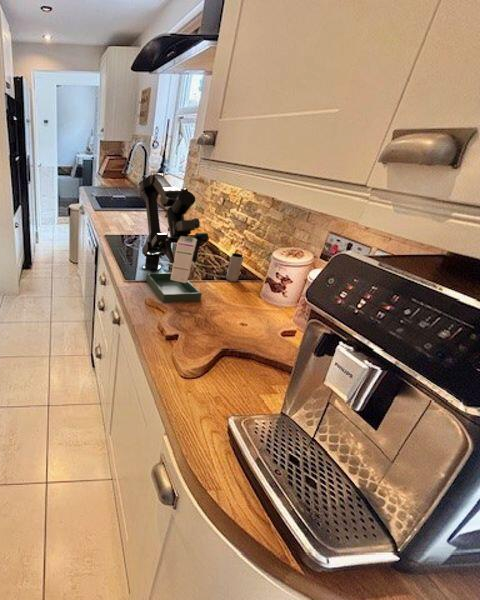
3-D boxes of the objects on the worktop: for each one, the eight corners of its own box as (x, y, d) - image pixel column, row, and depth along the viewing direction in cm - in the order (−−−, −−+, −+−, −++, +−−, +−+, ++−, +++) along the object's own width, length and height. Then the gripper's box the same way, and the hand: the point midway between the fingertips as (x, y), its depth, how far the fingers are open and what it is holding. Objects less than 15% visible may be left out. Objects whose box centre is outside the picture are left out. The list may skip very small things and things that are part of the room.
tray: (145, 280, 130) (146, 273, 128) (177, 279, 131) (179, 272, 130) (163, 302, 112) (164, 294, 111) (200, 300, 114) (201, 293, 113)
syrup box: (186, 283, 111) (196, 243, 104) (169, 280, 113) (177, 240, 106) (188, 277, 116) (198, 238, 108) (172, 273, 118) (180, 235, 110)
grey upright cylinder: (225, 280, 131) (230, 255, 127) (226, 276, 135) (231, 252, 130) (237, 282, 130) (243, 257, 125) (238, 278, 133) (244, 254, 129)
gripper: (158, 209, 106) (166, 252, 101) (212, 209, 108) (222, 251, 104) (148, 227, 117) (154, 267, 112) (197, 226, 119) (205, 265, 114)
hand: (184, 262), depth 110 cm, fingers closed on syrup box, 7 cm apart
